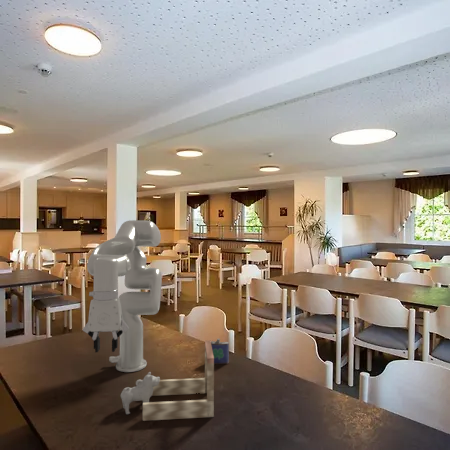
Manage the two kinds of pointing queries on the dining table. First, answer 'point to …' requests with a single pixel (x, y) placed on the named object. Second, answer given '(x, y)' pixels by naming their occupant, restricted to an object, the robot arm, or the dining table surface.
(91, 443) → the dining table surface
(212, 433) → the dining table surface
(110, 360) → the robot arm
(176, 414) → the channel
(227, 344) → the flask
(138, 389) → the dog figurine
